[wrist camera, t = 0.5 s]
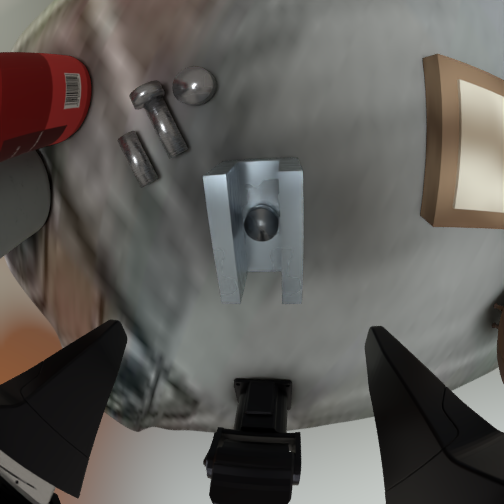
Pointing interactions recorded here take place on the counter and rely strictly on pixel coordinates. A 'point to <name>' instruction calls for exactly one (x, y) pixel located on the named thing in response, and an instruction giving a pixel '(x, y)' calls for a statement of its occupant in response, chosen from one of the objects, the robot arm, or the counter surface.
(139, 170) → the loose bolts
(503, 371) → the alarm clock
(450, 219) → the picture frame
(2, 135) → the canned food
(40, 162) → the water bottle
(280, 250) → the housing
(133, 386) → the counter surface
